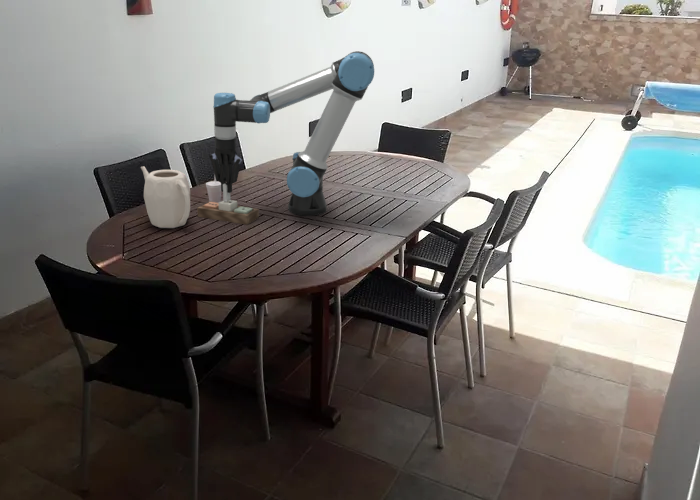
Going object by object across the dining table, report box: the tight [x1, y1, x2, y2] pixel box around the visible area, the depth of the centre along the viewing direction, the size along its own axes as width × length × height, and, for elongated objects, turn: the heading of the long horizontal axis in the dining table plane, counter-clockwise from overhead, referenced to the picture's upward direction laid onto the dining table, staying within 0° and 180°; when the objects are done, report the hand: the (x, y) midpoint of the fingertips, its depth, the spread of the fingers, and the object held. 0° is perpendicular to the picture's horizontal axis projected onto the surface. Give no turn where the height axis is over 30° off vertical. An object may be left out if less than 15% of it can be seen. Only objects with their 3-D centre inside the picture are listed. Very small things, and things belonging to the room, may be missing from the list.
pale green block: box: [234, 206, 254, 214], centre depth 226 cm, size 5×5×4 cm
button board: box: [196, 201, 260, 226], centre depth 228 cm, size 21×9×4 cm, turn 70°
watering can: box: [140, 166, 191, 229], centre depth 216 cm, size 16×27×19 cm, turn 52°
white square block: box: [218, 199, 238, 212], centre depth 227 cm, size 5×5×4 cm
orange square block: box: [203, 201, 219, 209], centre depth 230 cm, size 5×5×4 cm
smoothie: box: [205, 173, 222, 203], centre depth 237 cm, size 6×6×14 cm
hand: (226, 200), depth 226 cm, fingers closed
